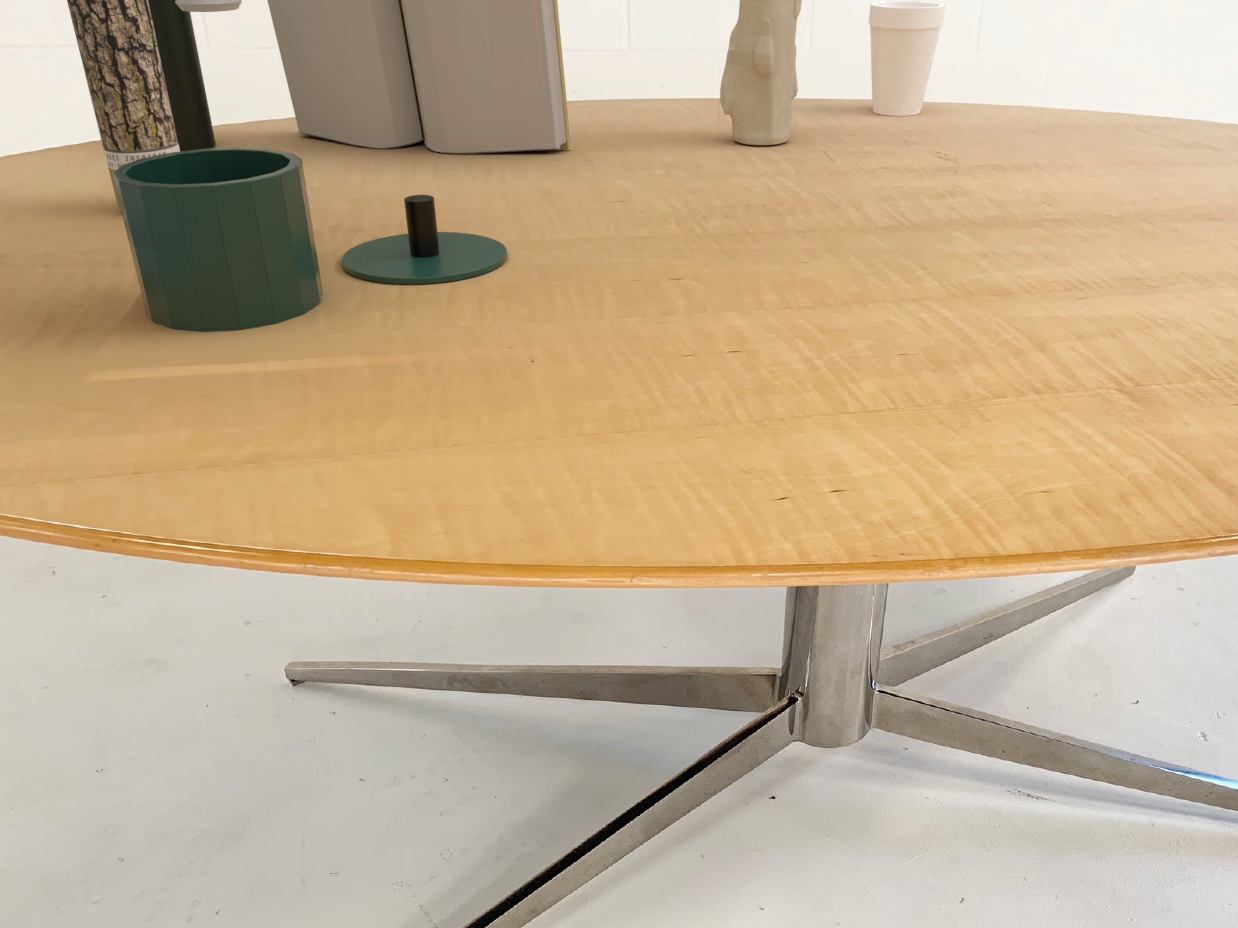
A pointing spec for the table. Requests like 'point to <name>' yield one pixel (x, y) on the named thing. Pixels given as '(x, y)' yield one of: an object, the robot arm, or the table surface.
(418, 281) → the lid
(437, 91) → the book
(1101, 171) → the table surface
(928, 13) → the foam cup
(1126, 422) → the table surface
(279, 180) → the pot
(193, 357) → the table surface
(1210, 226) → the table surface
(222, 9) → the rook chess piece
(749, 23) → the vase
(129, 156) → the brown tall cylinder
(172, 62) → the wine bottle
